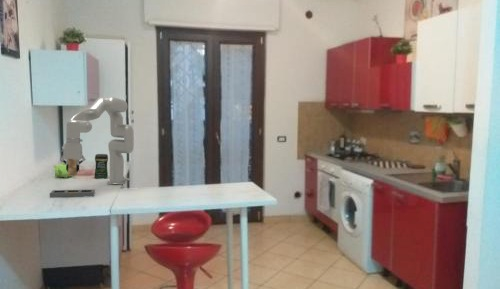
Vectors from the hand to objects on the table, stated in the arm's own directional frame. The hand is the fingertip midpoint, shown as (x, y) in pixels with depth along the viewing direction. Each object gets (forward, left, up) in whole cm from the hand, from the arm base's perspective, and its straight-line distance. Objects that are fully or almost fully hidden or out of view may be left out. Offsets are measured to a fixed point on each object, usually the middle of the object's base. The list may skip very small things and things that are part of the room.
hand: (72, 171), depth 241 cm
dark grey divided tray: (0, 0, -15) cm, 15 cm away
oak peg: (0, 0, -2) cm, 2 cm away
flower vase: (+14, -95, -15) cm, 98 cm away
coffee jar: (-12, -65, -15) cm, 68 cm away
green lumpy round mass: (+14, -70, -15) cm, 73 cm away
